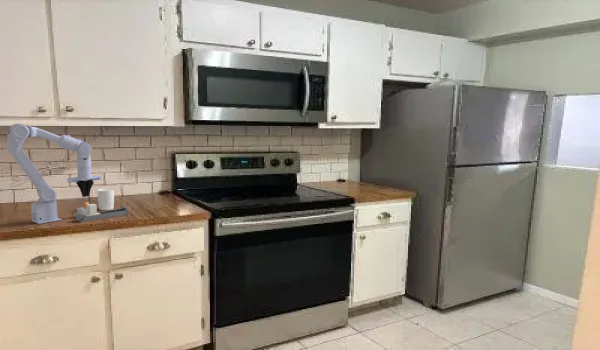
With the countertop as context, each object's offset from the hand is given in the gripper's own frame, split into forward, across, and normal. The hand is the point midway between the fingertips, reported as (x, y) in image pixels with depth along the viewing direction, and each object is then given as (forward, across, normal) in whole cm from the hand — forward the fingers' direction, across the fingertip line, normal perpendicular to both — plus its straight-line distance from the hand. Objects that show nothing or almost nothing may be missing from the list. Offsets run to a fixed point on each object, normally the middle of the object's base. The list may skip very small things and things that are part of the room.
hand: (85, 196), depth 189 cm
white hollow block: (+9, 0, 0) cm, 9 cm away
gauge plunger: (+7, 0, 0) cm, 7 cm away
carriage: (+8, -1, -8) cm, 11 cm away
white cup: (+10, +14, +9) cm, 19 cm away
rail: (+9, +4, -8) cm, 13 cm away
